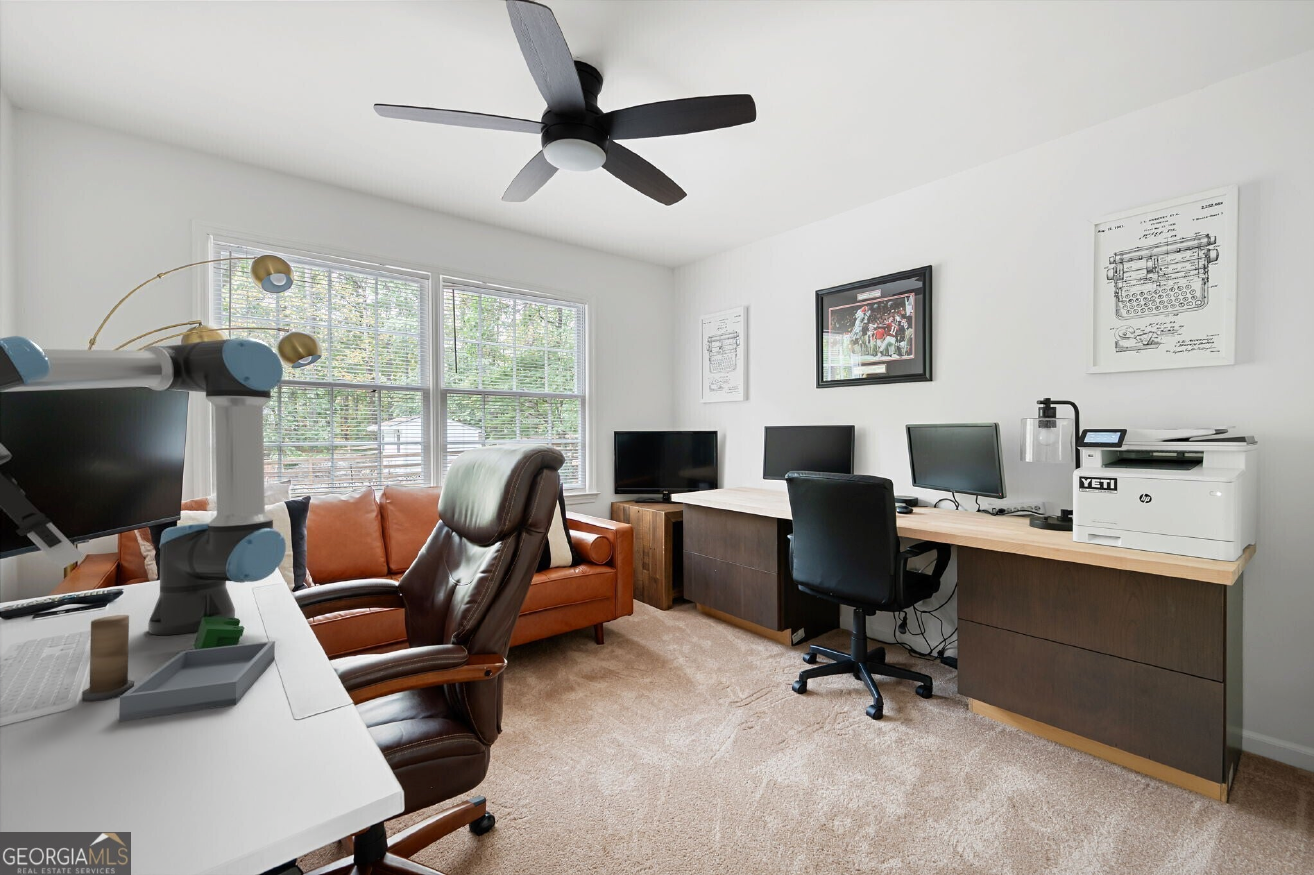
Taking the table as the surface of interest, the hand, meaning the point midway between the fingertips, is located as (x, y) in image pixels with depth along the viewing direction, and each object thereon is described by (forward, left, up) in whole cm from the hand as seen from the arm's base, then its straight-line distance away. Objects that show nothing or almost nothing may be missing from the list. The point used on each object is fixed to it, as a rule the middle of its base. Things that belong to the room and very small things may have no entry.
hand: (71, 562), depth 86 cm
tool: (-2, +4, -22) cm, 22 cm away
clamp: (-20, +13, -22) cm, 33 cm away
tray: (+1, +18, -22) cm, 28 cm away
